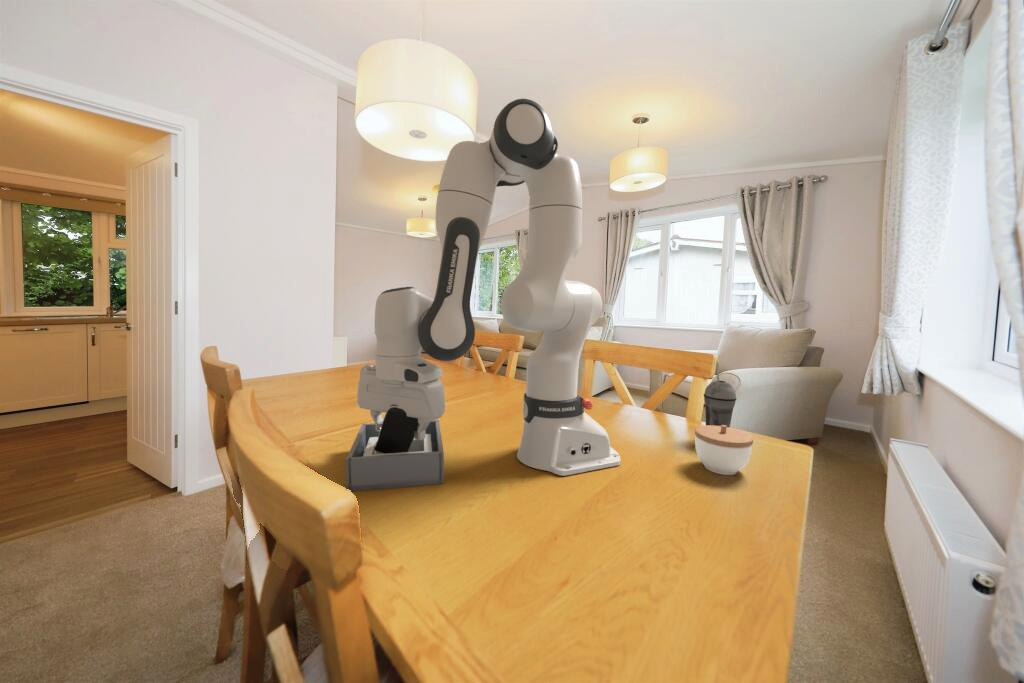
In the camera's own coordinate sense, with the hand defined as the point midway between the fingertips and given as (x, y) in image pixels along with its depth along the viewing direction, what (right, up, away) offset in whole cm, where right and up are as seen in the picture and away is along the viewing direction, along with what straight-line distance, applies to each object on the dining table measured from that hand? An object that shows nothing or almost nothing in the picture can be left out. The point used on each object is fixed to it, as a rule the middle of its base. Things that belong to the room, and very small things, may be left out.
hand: (399, 434), depth 80 cm
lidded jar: (+67, -8, +2) cm, 68 cm away
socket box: (0, -7, +1) cm, 7 cm away
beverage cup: (+75, -6, +18) cm, 77 cm away
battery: (-2, -4, +2) cm, 5 cm away
